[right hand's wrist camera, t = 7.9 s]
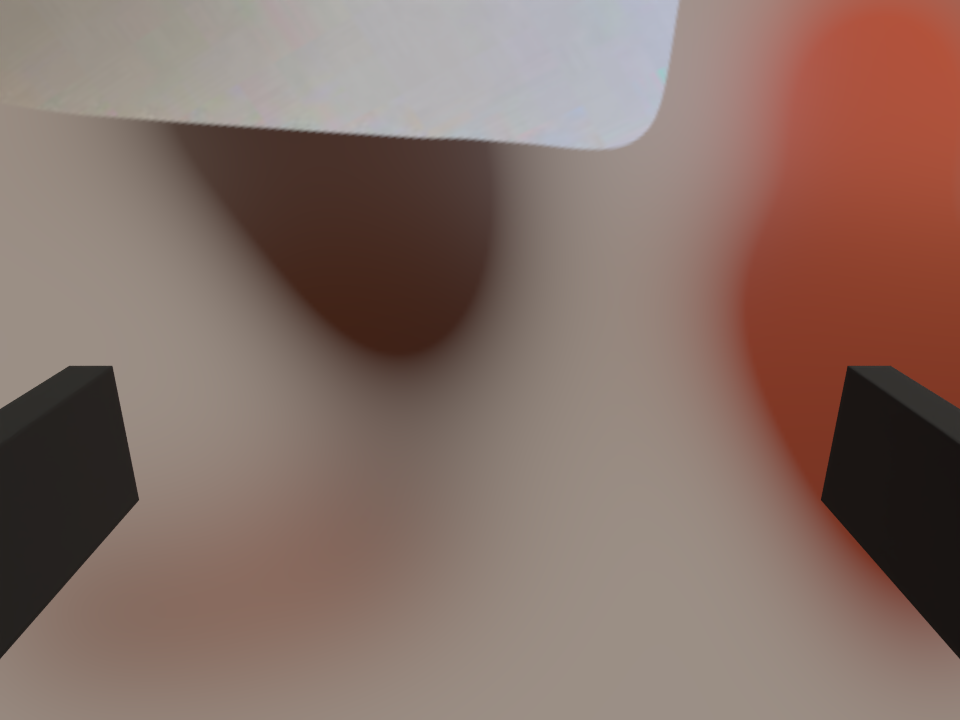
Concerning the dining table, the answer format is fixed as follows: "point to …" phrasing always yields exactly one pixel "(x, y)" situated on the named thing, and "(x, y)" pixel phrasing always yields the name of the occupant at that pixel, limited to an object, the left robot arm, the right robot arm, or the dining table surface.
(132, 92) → the dining table surface
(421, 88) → the dining table surface
